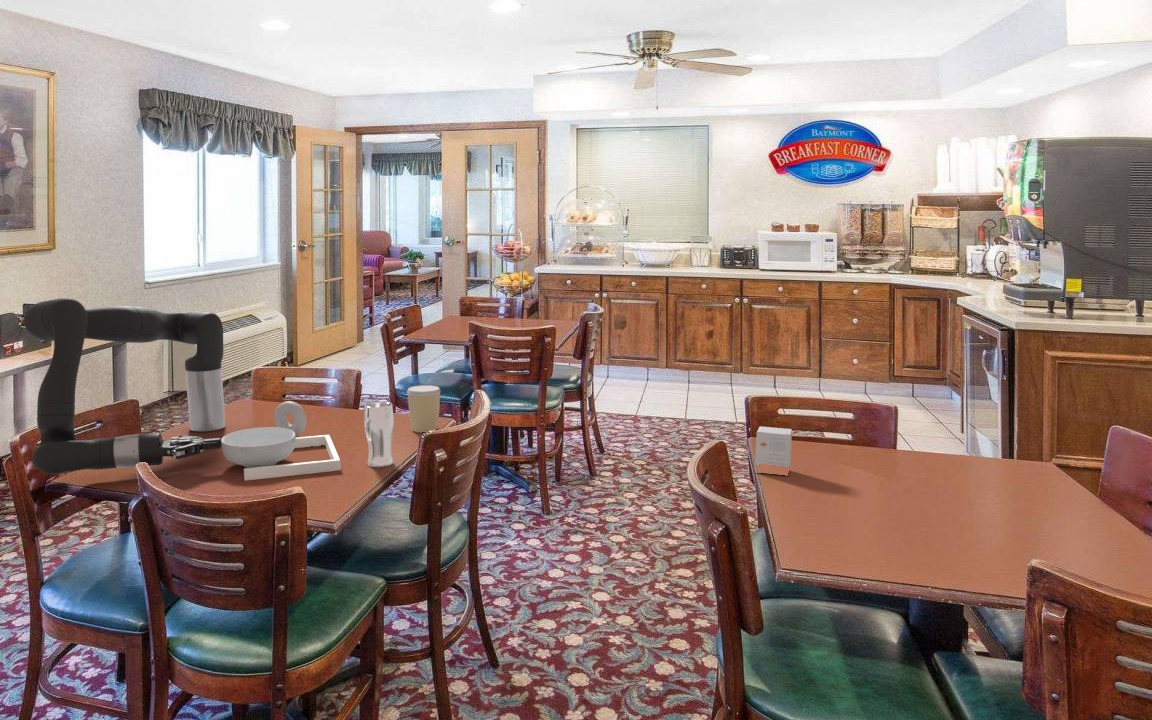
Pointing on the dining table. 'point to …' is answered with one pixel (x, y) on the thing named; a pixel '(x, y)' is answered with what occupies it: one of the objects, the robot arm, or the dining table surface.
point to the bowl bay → (299, 467)
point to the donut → (296, 413)
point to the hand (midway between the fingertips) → (221, 443)
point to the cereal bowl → (258, 446)
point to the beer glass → (379, 433)
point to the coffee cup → (424, 407)
